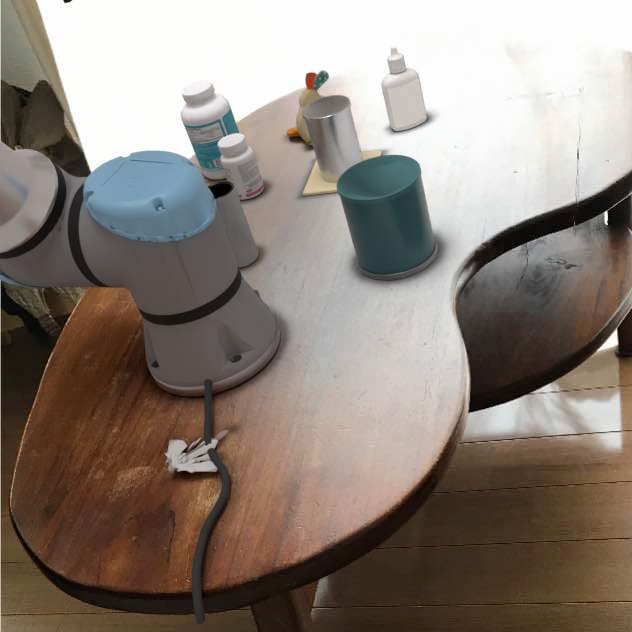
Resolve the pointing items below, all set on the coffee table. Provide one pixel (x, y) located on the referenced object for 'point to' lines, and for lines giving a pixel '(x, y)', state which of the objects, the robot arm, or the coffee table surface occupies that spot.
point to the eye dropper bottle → (402, 94)
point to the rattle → (305, 98)
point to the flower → (191, 455)
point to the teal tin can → (388, 216)
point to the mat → (321, 186)
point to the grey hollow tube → (234, 222)
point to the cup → (332, 135)
